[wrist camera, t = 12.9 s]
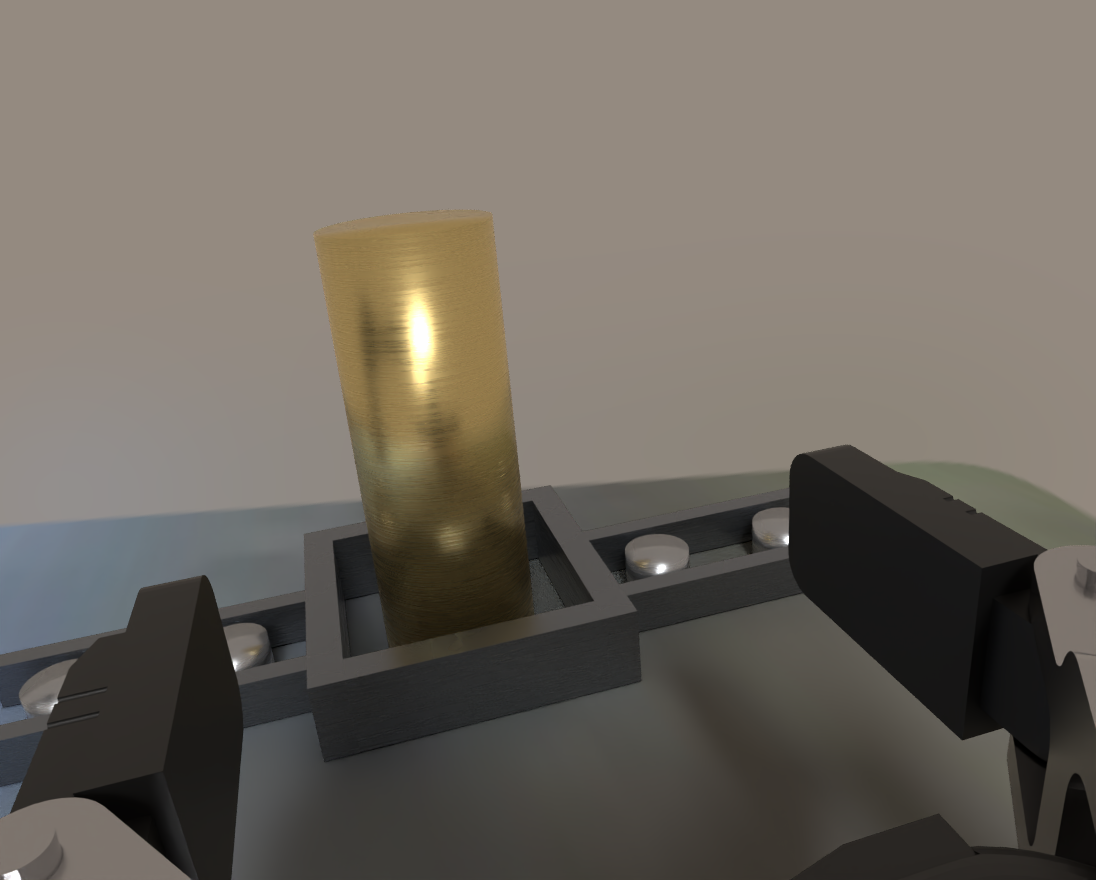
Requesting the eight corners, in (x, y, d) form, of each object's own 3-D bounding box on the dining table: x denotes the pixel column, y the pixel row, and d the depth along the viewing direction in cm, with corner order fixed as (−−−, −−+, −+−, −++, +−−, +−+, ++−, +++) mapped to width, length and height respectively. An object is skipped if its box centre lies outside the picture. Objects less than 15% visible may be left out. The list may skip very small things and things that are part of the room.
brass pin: (358, 656, 23) (274, 238, 19) (446, 582, 26) (391, 210, 22) (483, 696, 21) (420, 238, 17) (561, 610, 24) (525, 208, 20)
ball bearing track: (-74, 862, 17) (-112, 787, 17) (30, 652, 24) (7, 592, 24) (925, 608, 23) (931, 541, 22) (778, 493, 29) (779, 440, 29)
